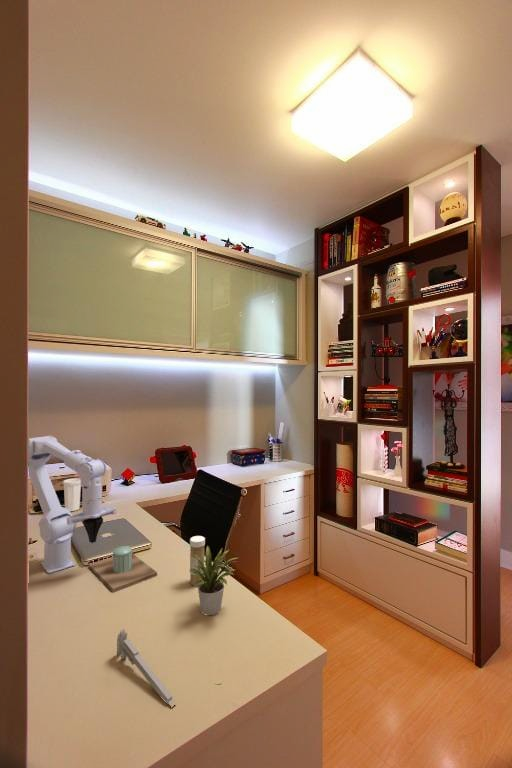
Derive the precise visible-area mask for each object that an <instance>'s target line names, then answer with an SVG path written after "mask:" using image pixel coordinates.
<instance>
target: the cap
mask: <svg viewBox="0 0 512 768" xmlns="http://www.w3.org/2000/svg"><path fill="white" fill-rule="evenodd" d="M132 550H133V549H132V547H131V546H128V545H121V546H118V547H116V548H114V549H113V551H112V557H113V571H114V572H116V573H123V572H126V571H129V570H130V569H131V567H132V554H133V551H132Z"/></svg>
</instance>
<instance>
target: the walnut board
mask: <svg viewBox="0 0 512 768" xmlns="http://www.w3.org/2000/svg"><path fill="white" fill-rule="evenodd" d="M88 568H89V569H90V570H91V571H92V572H93V573H94V575H95V576H96V577H97V578H98V579H100V580H101V582H102V583H103V584H104V585H105V586H107V587H106V588H108V589H109V591H111V592H112V593H115V592H118V591H120V590H123V589H126V588H128V587H131V586H133V585H136V584H139V583H142V582H144V581H146V580H149V579H152V578H154V577H157V576H158V572H157V571H156V570H155V569H154V568H152V567H151V566H150V565H148V564H147V563H146V562H144V561H143V560H142V559H140V558H139V557H138V556H136V555H135V554H134V553H132V567H131V569H130V570H129V571H126V572H123V573H116V572H114V571H113V556H112V557H108V558H105V559H101V560H99V561H96V562H92V563H89V564H88Z"/></svg>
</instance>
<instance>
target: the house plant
mask: <svg viewBox="0 0 512 768" xmlns="http://www.w3.org/2000/svg"><path fill="white" fill-rule="evenodd" d="M229 551H230V548H229V549H227V550H225V551H224V552H223V548H221V549H220V550H219V552H218V553H217V555H216V557H215V558H214V560H213V559H212V552H211V549H210V546H209V545H207V546H206V549H205V558H204V559H203V560H204V564H203V562H202V561H201V558H199V557H198V556H197V555H195V554H194V555H195V557H196V558H197V560H198V562H199V563H200V564H199V563H198V562H197V563H198V564H199V565H200V566H198V567H197V566H196V565H195V564H193V563H192V564H193V565H195V567H197V568H198V569H199V567H200V568H201V570H202V571H203V573H204V575H202V574H203V573H202V571H201V570H200V569H199V570H200V571H201V573H202V574H201V573H200V572H199V571H197V570H196V569H191V570H190V569H189V573H190V572H192V573H194V574H197V575H198V576H200V577H201V579H202V580H203V581H202V580H198V581H197V586H196V588H197V593H198V598H199V604H200V605H199V606H200V611H202V612H203V613H204V614H207V615H212V616H214V615H213V614H216V613H218V612H219V611H220V612H221V609H222V608H221V607H222V602H223V596H224V589H225V585H226V586H228V582H227V579H226V578H224V577H227V576H231V575H234V573H233V572H234V571H237V569H231V568H229V567H226V566H227V565H229V564H233V563H235V561H234V560H236V559H238V557H234V558H229V559H227V560H226V561H225V562H223V561H224V560H225V557H226V554H227V553H228V552H229ZM195 562H196V561H195ZM222 562H223V563H222ZM237 562H240V561H237V560H236V563H237ZM193 568H194V567H193ZM223 572H224V573H223ZM203 576H204V577H203ZM202 612H201V613H202ZM220 612H219V613H220ZM203 613H202V614H203ZM219 613H218V614H219ZM204 614H203V615H204ZM207 615H206V616H207ZM216 615H217V614H216Z"/></svg>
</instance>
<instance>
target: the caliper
mask: <svg viewBox="0 0 512 768" xmlns="http://www.w3.org/2000/svg"><path fill="white" fill-rule="evenodd" d="M127 636H128V632H126V629H121V630H120V631H119V633H118V634H117V639H116V656H117V657H119V656H120V660H121V661H124V660H126V658H127V659H128V661H129V662H130V663H131V665H135V666H136V668H137V669H138V670H139V671H140V672H141V674H142V675H143V677H144V678H145V679H146V680H147V681H148V683H149V684H150V686H151V687H152V688H153V690H154V691H155V693H157V695H158V694H159V695H160V696H161V697H162V698H163V699H164V700H165V701H166V702H167V703H168V704H169V705H170V706H172V704H173V703H175V704H176V702H175V700H174V698H173V695H172V694H171V693H170V691H169V690H168V688H166V686H165V685H164V683H163V682H162V681H161V680H160V678H159V677H158V676H157V675H156V673H154V671H153V670H152V668H151V667H150V666H149V665H148V664H147V662H146V661H145V660H144V658H143V657H142V656H141V655H140V654H139V651H138V649H137V648H136V646H135V645H134V644H133V642H131V641H130V639H129V638H128V637H127ZM159 695H158V696H159ZM160 696H159V697H160ZM161 697H160V698H161ZM169 705H168V706H169ZM170 706H169V707H170Z"/></svg>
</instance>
